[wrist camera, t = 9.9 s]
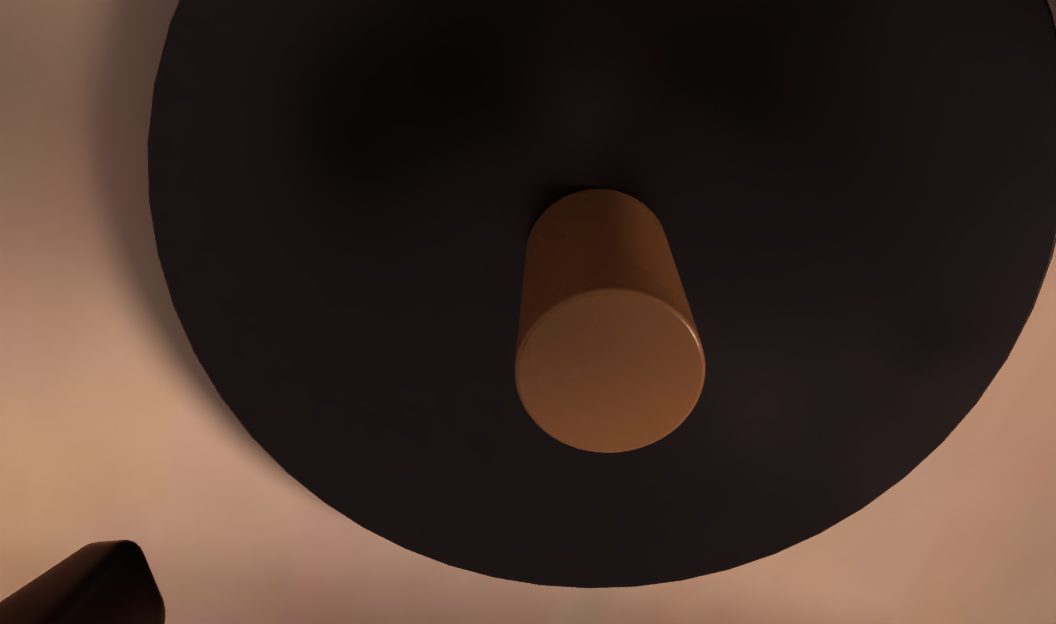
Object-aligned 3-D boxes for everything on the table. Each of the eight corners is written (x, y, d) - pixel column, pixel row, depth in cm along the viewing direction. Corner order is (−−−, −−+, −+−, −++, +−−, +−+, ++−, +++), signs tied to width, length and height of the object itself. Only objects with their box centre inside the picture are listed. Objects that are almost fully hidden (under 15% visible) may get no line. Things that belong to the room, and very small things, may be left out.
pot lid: (1202, 232, 14) (1504, 381, 10) (583, 652, 19) (591, 880, 15) (614, -588, 10) (660, -1014, 5) (17, 232, 15) (-219, 371, 11)
